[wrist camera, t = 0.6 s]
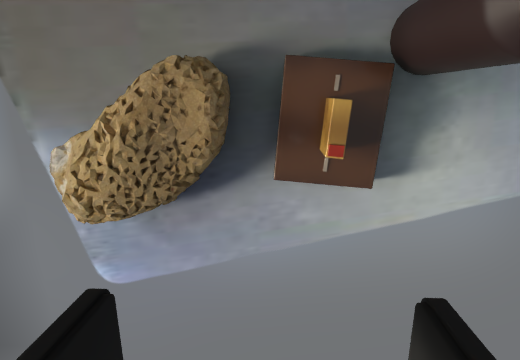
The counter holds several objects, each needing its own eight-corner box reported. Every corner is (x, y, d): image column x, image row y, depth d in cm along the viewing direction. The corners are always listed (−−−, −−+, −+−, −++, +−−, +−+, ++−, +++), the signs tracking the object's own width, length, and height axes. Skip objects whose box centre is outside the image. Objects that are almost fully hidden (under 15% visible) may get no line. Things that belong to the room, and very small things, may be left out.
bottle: (468, 57, 31) (778, -1, 12) (400, 86, 32) (584, 76, 13) (449, -13, 30) (769, -212, 10) (379, 19, 31) (550, -106, 11)
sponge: (120, 219, 39) (267, 171, 32) (64, 240, 32) (238, 184, 25) (84, 116, 38) (225, 46, 32) (17, 114, 31) (183, 21, 24)
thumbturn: (326, 97, 30) (334, 98, 26) (343, 99, 30) (353, 99, 26) (319, 149, 31) (325, 158, 27) (335, 151, 31) (344, 159, 27)
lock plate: (284, 58, 32) (285, 54, 29) (384, 66, 32) (395, 63, 29) (273, 172, 35) (273, 180, 32) (364, 181, 35) (372, 189, 32)
